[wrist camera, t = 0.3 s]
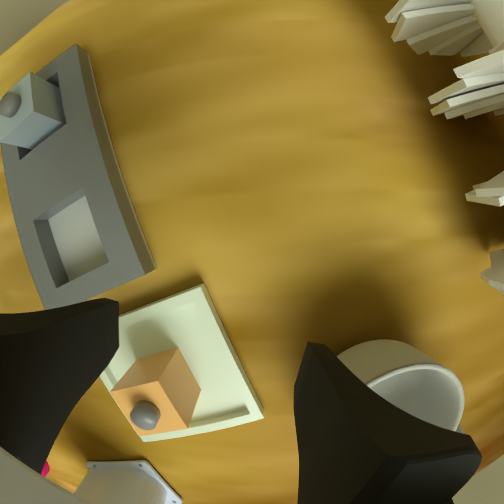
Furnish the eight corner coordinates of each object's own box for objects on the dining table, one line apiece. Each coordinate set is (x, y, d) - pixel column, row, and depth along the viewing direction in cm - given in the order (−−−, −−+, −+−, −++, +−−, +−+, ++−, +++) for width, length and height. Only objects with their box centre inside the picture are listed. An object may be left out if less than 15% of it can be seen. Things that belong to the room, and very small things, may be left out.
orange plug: (159, 399, 22) (135, 444, 16) (136, 360, 21) (103, 399, 15) (201, 389, 22) (184, 438, 16) (178, 347, 21) (152, 389, 15)
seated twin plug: (38, 150, 20) (-9, 140, 14) (32, 115, 19) (-11, 99, 13) (70, 126, 19) (25, 107, 13) (63, 90, 19) (22, 67, 13)
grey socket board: (64, 308, 22) (48, 316, 19) (13, 113, 19) (-3, 108, 17) (157, 268, 21) (145, 274, 18) (89, 54, 19) (76, 43, 16)
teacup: (270, 401, 22) (273, 472, 14) (356, 295, 21) (403, 337, 13) (383, 450, 23) (408, 505, 15) (456, 369, 21) (504, 411, 13)
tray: (147, 434, 23) (143, 442, 22) (84, 328, 22) (76, 333, 20) (263, 409, 22) (263, 418, 21) (203, 282, 21) (200, 286, 20)
